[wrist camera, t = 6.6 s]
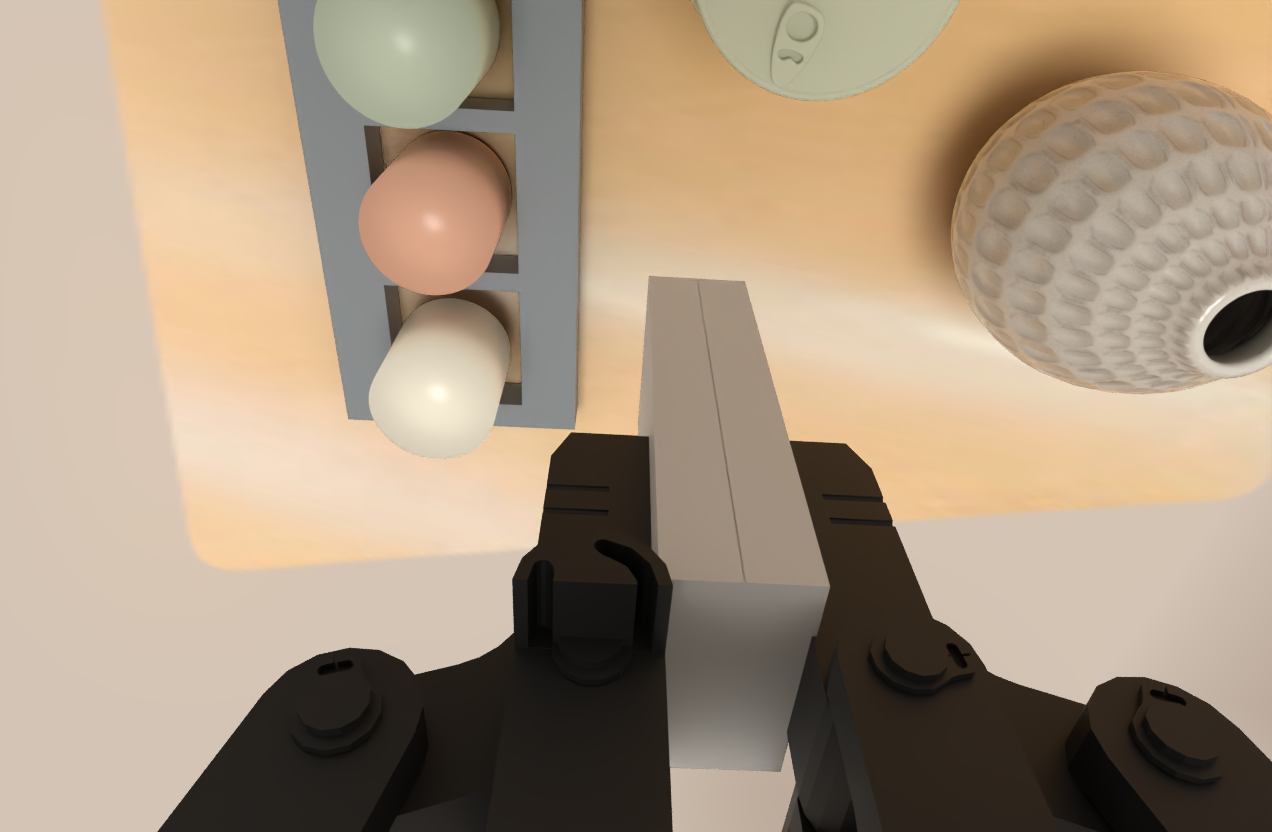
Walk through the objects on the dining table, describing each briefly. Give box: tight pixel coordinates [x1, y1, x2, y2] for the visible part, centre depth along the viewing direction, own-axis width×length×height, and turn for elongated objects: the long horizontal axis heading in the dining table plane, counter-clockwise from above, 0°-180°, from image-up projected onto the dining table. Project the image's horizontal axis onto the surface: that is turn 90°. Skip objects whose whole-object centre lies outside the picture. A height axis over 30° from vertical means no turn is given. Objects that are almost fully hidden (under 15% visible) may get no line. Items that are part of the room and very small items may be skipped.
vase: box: [950, 70, 1272, 394], centre depth 34 cm, size 13×13×17 cm
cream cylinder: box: [369, 298, 511, 459], centre depth 41 cm, size 6×6×6 cm
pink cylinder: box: [358, 131, 512, 295], centre depth 38 cm, size 6×6×6 cm
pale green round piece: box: [313, 0, 500, 129], centre depth 32 cm, size 6×6×6 cm
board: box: [278, 0, 584, 430], centre depth 40 cm, size 26×13×2 cm, turn 177°
